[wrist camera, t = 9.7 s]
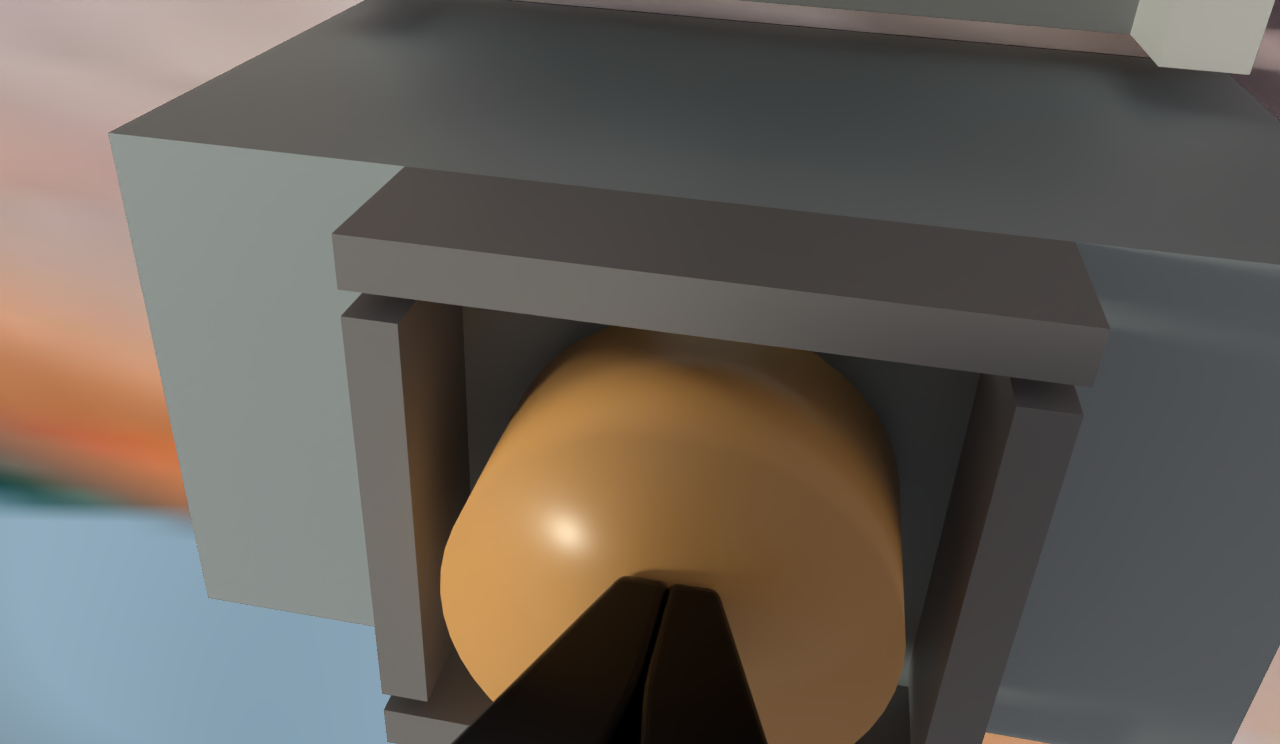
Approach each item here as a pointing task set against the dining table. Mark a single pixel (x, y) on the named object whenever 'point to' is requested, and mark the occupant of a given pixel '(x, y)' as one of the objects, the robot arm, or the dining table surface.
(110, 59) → the dining table surface
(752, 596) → the button
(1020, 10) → the rail track
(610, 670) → the robot arm
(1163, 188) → the cabinet
